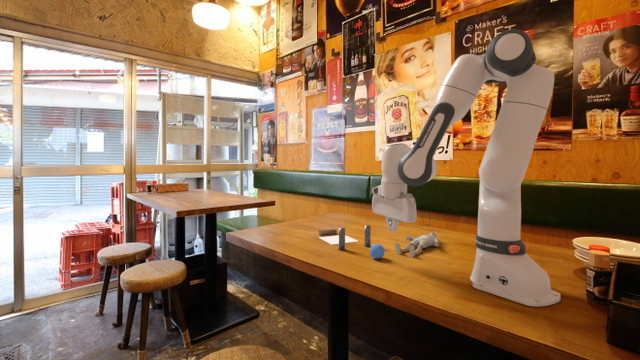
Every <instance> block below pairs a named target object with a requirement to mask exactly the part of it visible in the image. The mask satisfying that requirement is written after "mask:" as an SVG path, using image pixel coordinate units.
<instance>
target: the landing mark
mask: <svg viewBox="0 0 640 360" xmlns="http://www.w3.org/2000/svg"><path fill="white" fill-rule="evenodd" d="M318 239H320V240H322V241H324V242H326V243H327V244H329V245H331V246H334V245H339V234H335V235H326V236H319V237H318ZM359 242H360V241H359V240H357V239H356V238H353V237H351V236H348V235H346V234H345V244H350V243H351V244H352V243H359Z"/></svg>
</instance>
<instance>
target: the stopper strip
mask: <svg viewBox="0 0 640 360" xmlns="http://www.w3.org/2000/svg"><path fill="white" fill-rule="evenodd" d="M318 235H319V237H326V236H335V235H338V229H336V228H328V229H327V228H326V229H319V230H318Z"/></svg>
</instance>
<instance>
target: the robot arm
mask: <svg viewBox="0 0 640 360" xmlns="http://www.w3.org/2000/svg"><path fill="white" fill-rule="evenodd" d="M536 61H537V57H536V53H535V49H534V44H533V41H532V39H531V37H530V35H529V34H528V33H527V32H526V31H524V30H522V29H517V28H511V29H506V30H504V31H502V32H499V33H498V34H496V36H494V37H493V39H492V40H490V42H489V44H488V46H487V48H486V52H485V53H482V54H480V55H477V54H475V53H467V54H466V53H465V54H461V55H460V56H459V57H457V58H456V59H455V61H454V62H453V63H452V65H451V66H450V68H449V70H448V71H447V73H446V74H445V77H444V79H443V80H442V82H441V84H440V86H439V89H438V91H437V93H436V96H435V98H434V102H433V104H432V107H431V110H430V113H429V115H428V119H427V120H426V122H425V124H424V126H423V128H422V130H421V132H420V134H419V136H418V138H417V140H416V141H415V143H414V145H413V147H412V148H411V147H410V146H409V145H408V144H406V143H403V142H402V143H393V144H389V145H386V146H385V148H384V149H383V152H382V158H381V175H382V176H381V181H380V185H377V186H374V187H372V189H371V190H372V191H371V193H372V194H373V195H372V198H371V199H372V200H371V209H372V213H374V214H376V215H379V216H383V217H385V222H386V225H387V230H388V231H391V232H394V233H395V232H397V230H398V225H399V224H400V222H403V223H410V224H411V223H415V222H416V221H417V220H418V219H417V216H418V215H417V202H416V199H415V197H414V196H413V194H411V193H408V186H410V187H413V188H414V187H420V186H423V185H424V184H426V183H428V182H429V181H432V180H433V179H434V178H435V177H436V176H437V173H438V171H439V170H438V166H439V165H438V163H437V160H435V159H434V156H435V154H436V152H437V150H438V148H439V147H440V144H441V142H442V140H443V138H444V136H445V135H446V133H447V132H448V130H449V129H450V128H451V127H452V126H453V125H455V123H457V122H459V121H461V120H462V119H463V118H464V117H466V115H467V113H468V112H469V110H470V109H471V108H472V106H473V104H474V103H475V100H476V98H477V96H478V94H479V92H480V90H481V89H482V87H483V85H484V84H505V83H506V92H505V94H504V98H503V100H502V103H501V106H500V109H499V113H498V115H497V118H496V120H495V124H494V126H493V130H492V133H491V135H490V137H489V141H488V143H487V147H486V149H485V152H484V155H483V158H482V160H481V163H480V166H479V169H478V178H479V190H478V191H479V192H478V193H479V194H478V209H477V211H478V212H477V234H476V235H475V244H474V245H475V249H476V251H475V259H474V264H473V269H472V272H471V275H470V277H469V279H470V281H471V282H472V287H473V288H475V289H476V290H479V291H482V292H486V293H489V294H491V295H495V296H498V297H501V298H503V299H505V300H506V299H507V300H510V301H512V302H515V303H518V304H522V305H525V306H527V307H547V306H552V305H554V304H557V303H559V302H560V301H561V298H562V297H561V293H560V292H558V291H555V290H554V289H552V288H551V287H552V286H551V280H550V276H549V274H548V273H547V271H545V269H543V268H542V267H541V266H540V265H539V264H538V263H537V262H536V261H535V260H534V259H533V258H531V257H530V256H529V255H528V254H527V250H526V249H529V248H530V245H531V244H530V243H526V244H525V243H524V242H523V240H522V238H521V229H522V228H521V226H522V225H521V224H522V201H521V198H522V196H521V195H522V193H521V192H522V191H521V189H522V187H521V186H522V182H523V180H524V179H525V176H526V173H527V170H528V167H529V164H530V161H531V159H532V154H533V151H534V148H535V145H536V141H537V138H538V136H539V132H540V130H541V127H542V125H543V122H544V119H545V117H546V114H547V111H548V109H549V106H550V103H551V102H550V101H551V99H552V95H553V90H554V86H555V74H554V72H553V71H552V70H551V69H550V68H548V67H546V66H543V65H538V64H537V65H536Z"/></svg>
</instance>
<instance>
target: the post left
mask: <svg viewBox="0 0 640 360" xmlns="http://www.w3.org/2000/svg"><path fill="white" fill-rule="evenodd" d="M338 235H339V244H338V251H346V243H345V235H346V227H338Z"/></svg>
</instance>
